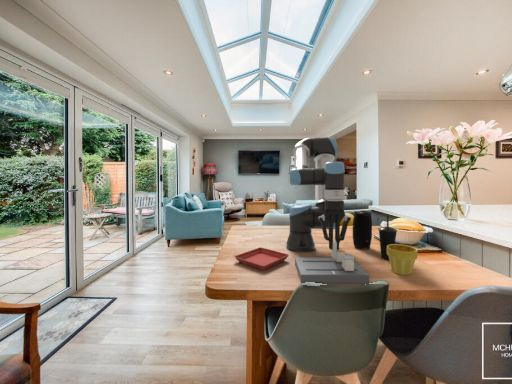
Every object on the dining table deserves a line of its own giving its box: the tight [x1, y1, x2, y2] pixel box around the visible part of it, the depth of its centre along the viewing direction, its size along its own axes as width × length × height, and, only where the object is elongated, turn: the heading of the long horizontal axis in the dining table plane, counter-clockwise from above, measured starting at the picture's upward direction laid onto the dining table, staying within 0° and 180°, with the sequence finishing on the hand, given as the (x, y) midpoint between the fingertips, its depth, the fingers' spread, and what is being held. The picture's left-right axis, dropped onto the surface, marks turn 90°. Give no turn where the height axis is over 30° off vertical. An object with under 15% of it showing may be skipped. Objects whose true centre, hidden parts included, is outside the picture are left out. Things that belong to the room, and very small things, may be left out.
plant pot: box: [387, 243, 419, 276], centre depth 93 cm, size 10×10×10 cm
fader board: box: [294, 257, 370, 284], centre depth 93 cm, size 24×18×3 cm
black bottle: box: [378, 215, 398, 261], centre depth 108 cm, size 8×8×20 cm
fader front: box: [342, 254, 355, 271], centre depth 88 cm, size 3×4×5 cm
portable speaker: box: [352, 210, 373, 250], centre depth 125 cm, size 9×9×20 cm
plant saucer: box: [234, 247, 290, 271], centre depth 106 cm, size 18×18×3 cm
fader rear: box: [334, 247, 346, 262], centre depth 97 cm, size 3×4×4 cm
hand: (333, 257), depth 97 cm, fingers closed
